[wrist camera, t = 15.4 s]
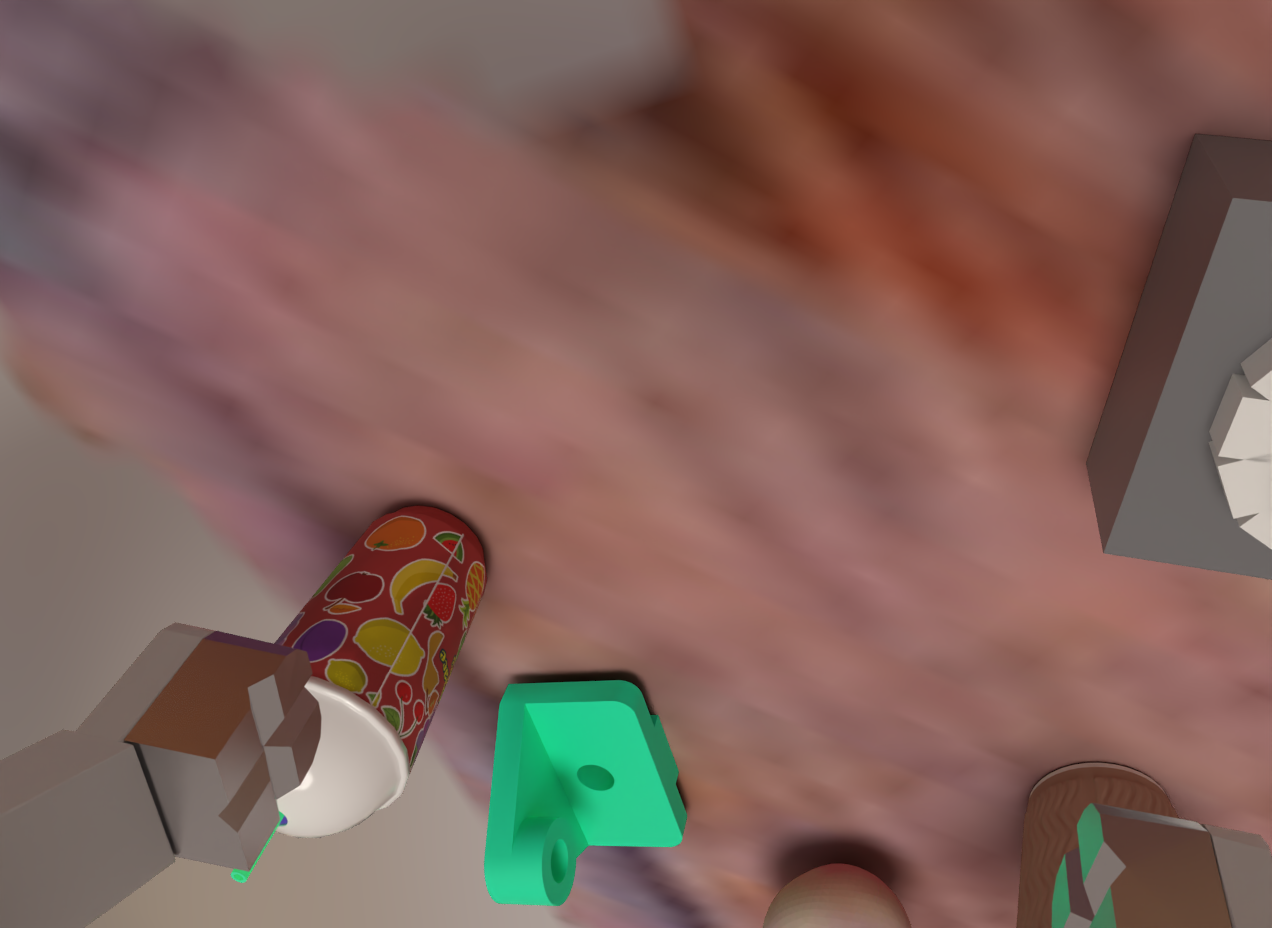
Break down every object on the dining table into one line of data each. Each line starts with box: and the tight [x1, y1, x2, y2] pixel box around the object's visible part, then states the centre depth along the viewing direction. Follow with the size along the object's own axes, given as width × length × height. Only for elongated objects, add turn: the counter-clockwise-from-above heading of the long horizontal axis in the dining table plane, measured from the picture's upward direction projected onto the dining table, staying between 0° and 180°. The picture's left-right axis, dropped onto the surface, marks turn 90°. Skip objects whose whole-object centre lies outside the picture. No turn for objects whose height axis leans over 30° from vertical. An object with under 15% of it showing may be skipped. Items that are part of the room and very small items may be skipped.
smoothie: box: [231, 505, 487, 883], centre depth 49 cm, size 8×8×20 cm
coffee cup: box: [1016, 763, 1179, 928], centre depth 52 cm, size 10×10×12 cm
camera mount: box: [484, 680, 687, 906], centre depth 59 cm, size 12×8×10 cm, turn 15°
